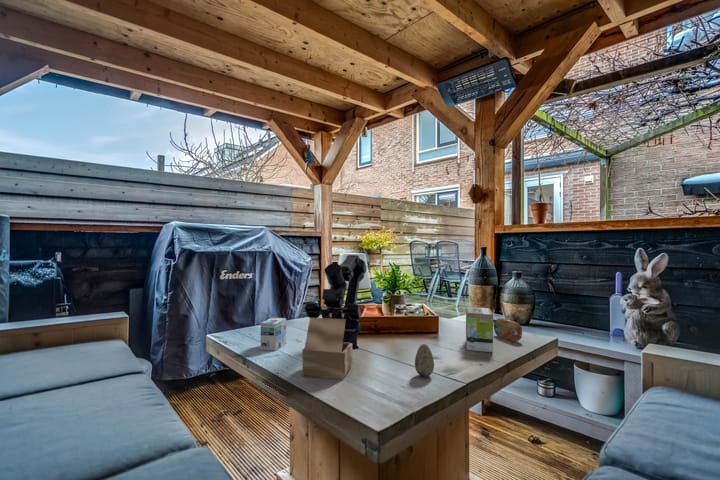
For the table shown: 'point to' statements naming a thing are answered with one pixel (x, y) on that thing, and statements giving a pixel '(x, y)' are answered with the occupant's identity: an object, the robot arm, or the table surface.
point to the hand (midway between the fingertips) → (327, 332)
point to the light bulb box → (273, 334)
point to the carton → (327, 363)
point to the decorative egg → (424, 361)
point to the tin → (508, 329)
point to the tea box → (479, 329)
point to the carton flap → (325, 335)
